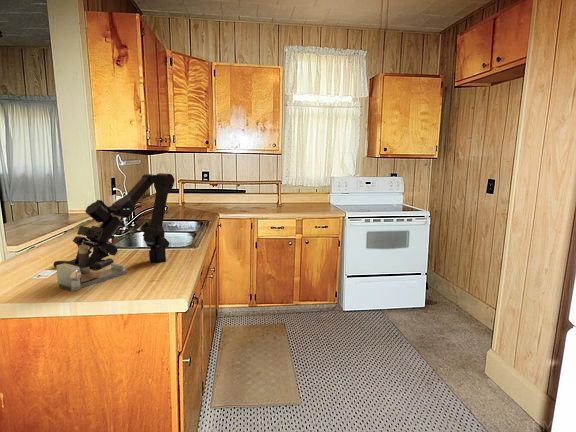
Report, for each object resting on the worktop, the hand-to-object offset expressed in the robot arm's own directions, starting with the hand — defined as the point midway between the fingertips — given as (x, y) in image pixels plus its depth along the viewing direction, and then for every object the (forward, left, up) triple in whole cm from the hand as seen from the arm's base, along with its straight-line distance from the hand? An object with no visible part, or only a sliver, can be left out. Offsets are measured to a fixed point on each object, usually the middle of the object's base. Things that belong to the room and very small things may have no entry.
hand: (80, 265), depth 127 cm
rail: (-4, -4, -7) cm, 9 cm away
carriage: (-1, -1, -5) cm, 5 cm away
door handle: (+4, -26, -8) cm, 28 cm away
